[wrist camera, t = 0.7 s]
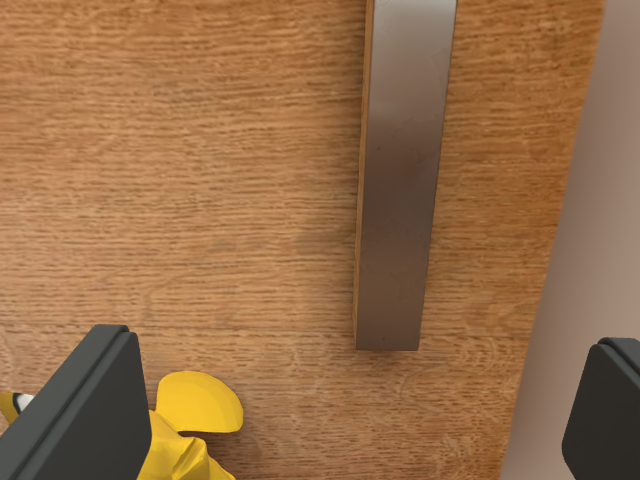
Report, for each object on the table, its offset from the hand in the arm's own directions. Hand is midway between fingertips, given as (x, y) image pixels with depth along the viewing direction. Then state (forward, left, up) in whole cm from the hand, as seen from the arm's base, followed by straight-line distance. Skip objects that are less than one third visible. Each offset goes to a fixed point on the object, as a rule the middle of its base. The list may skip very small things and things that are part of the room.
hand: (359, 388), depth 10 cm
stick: (-1, +2, -14) cm, 14 cm away
